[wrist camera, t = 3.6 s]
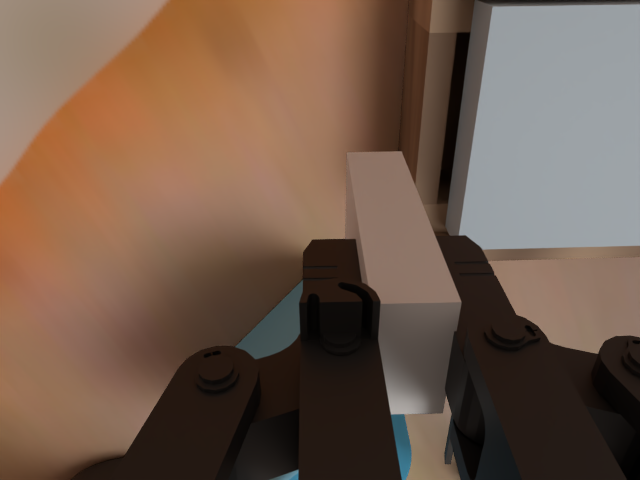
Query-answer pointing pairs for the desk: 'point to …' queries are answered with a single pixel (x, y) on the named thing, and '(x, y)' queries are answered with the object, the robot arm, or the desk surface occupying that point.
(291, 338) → the data package
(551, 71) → the cover plate
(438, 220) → the pencil box
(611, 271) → the desk surface
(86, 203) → the desk surface
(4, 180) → the desk surface
